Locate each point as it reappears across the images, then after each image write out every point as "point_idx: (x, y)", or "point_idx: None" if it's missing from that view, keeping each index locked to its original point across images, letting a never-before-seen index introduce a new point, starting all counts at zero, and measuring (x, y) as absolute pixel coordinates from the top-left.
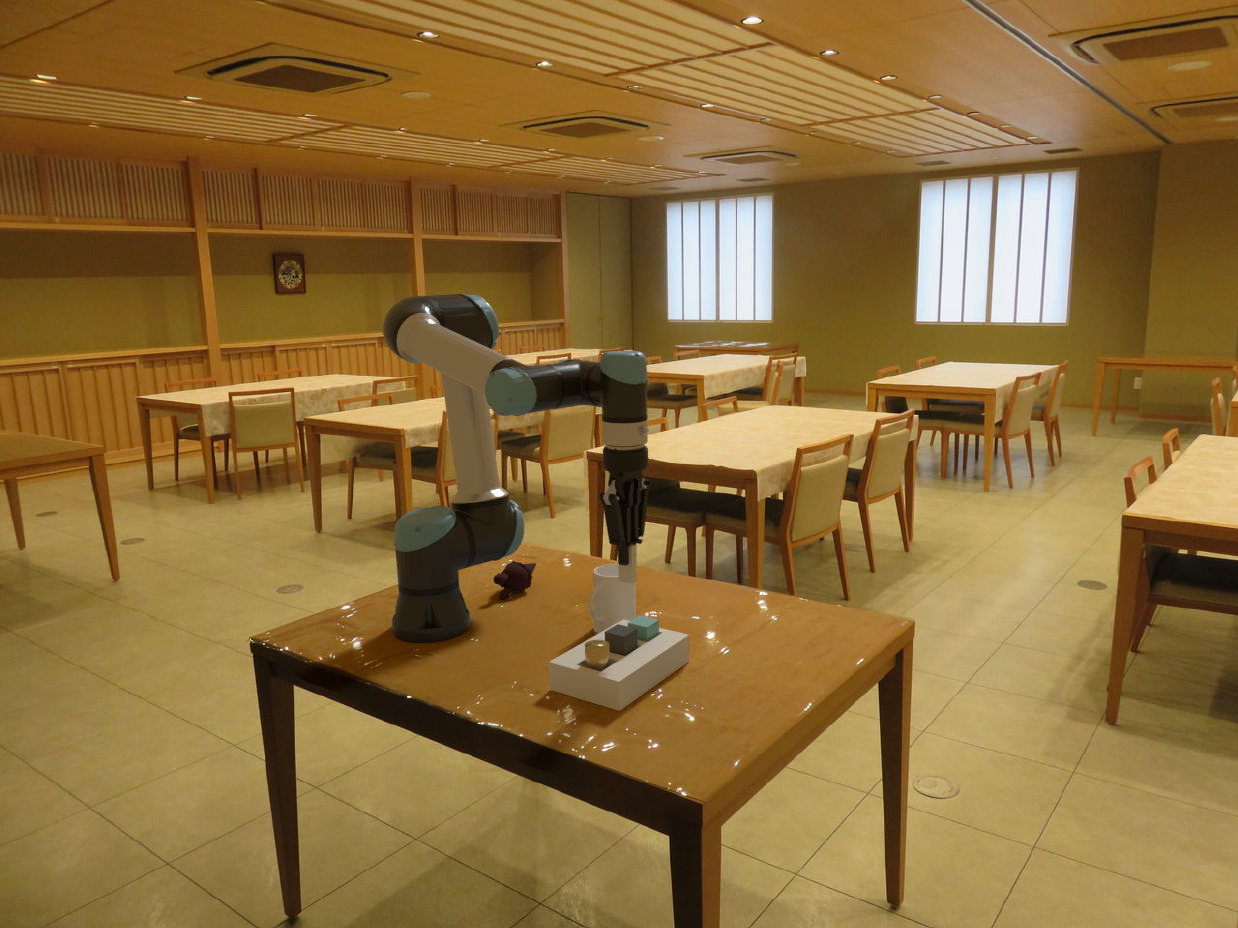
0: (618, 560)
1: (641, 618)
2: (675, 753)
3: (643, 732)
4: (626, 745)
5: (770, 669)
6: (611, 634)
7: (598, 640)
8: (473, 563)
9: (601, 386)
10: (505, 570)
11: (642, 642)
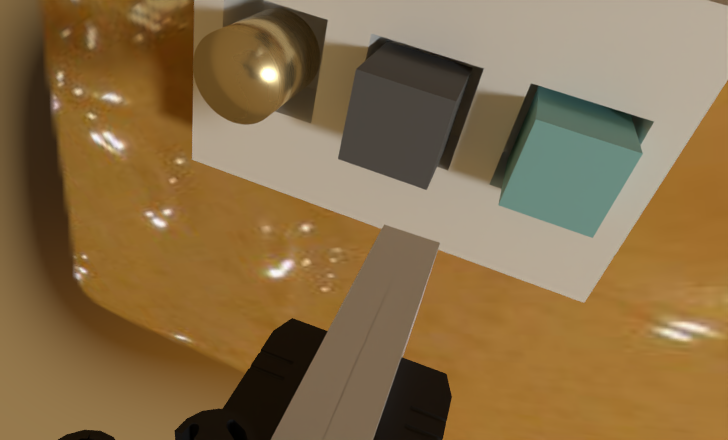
0: (266, 342)
1: (603, 167)
2: (155, 257)
3: (185, 195)
4: (130, 174)
5: (557, 413)
6: (349, 102)
7: (267, 72)
8: None
9: None
10: None
11: (479, 167)
